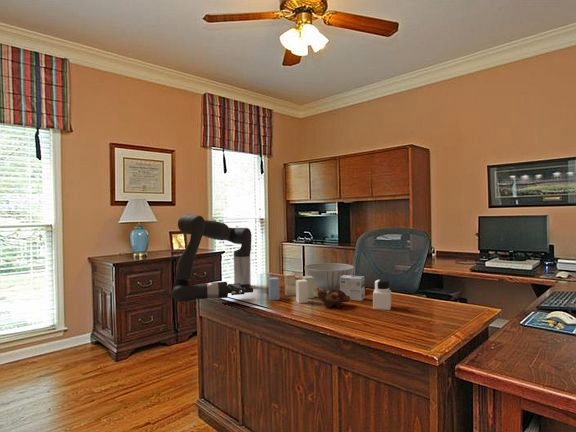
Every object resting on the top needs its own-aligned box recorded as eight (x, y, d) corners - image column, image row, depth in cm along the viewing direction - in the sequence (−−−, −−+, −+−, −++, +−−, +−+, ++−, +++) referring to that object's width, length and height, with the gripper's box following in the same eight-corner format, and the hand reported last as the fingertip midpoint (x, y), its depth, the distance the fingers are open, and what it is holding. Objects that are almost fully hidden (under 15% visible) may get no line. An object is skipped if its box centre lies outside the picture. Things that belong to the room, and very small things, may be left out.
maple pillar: (284, 293, 191) (284, 274, 190) (293, 293, 192) (292, 274, 192) (287, 295, 186) (287, 275, 186) (295, 295, 188) (295, 275, 187)
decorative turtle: (313, 305, 167) (314, 287, 168) (343, 304, 172) (344, 287, 172) (321, 309, 158) (322, 290, 159) (353, 308, 163) (354, 290, 163)
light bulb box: (365, 298, 180) (364, 275, 180) (361, 301, 174) (361, 278, 173) (343, 296, 184) (343, 274, 184) (339, 299, 178) (339, 276, 178)
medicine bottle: (391, 306, 164) (390, 279, 164) (390, 310, 158) (389, 282, 157) (374, 305, 167) (374, 278, 166) (372, 309, 160) (372, 281, 160)
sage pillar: (302, 296, 185) (302, 276, 185) (311, 295, 186) (310, 275, 186) (305, 298, 181) (305, 277, 180) (314, 297, 182) (313, 277, 182)
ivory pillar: (296, 301, 175) (295, 280, 175) (304, 300, 177) (304, 279, 176) (298, 303, 171) (298, 281, 171) (307, 302, 172) (307, 281, 172)
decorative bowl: (342, 296, 183) (342, 272, 183) (295, 291, 197) (295, 268, 197) (361, 286, 206) (361, 264, 206) (318, 282, 220) (318, 261, 220)
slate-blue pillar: (268, 298, 182) (268, 277, 182) (277, 297, 183) (277, 277, 183) (270, 300, 178) (270, 279, 178) (279, 299, 179) (279, 278, 179)
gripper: (218, 285, 166) (254, 282, 170) (215, 279, 180) (248, 277, 184) (218, 301, 166) (254, 299, 170) (215, 295, 180) (248, 292, 184)
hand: (251, 287), depth 177 cm, fingers open, 8 cm apart
